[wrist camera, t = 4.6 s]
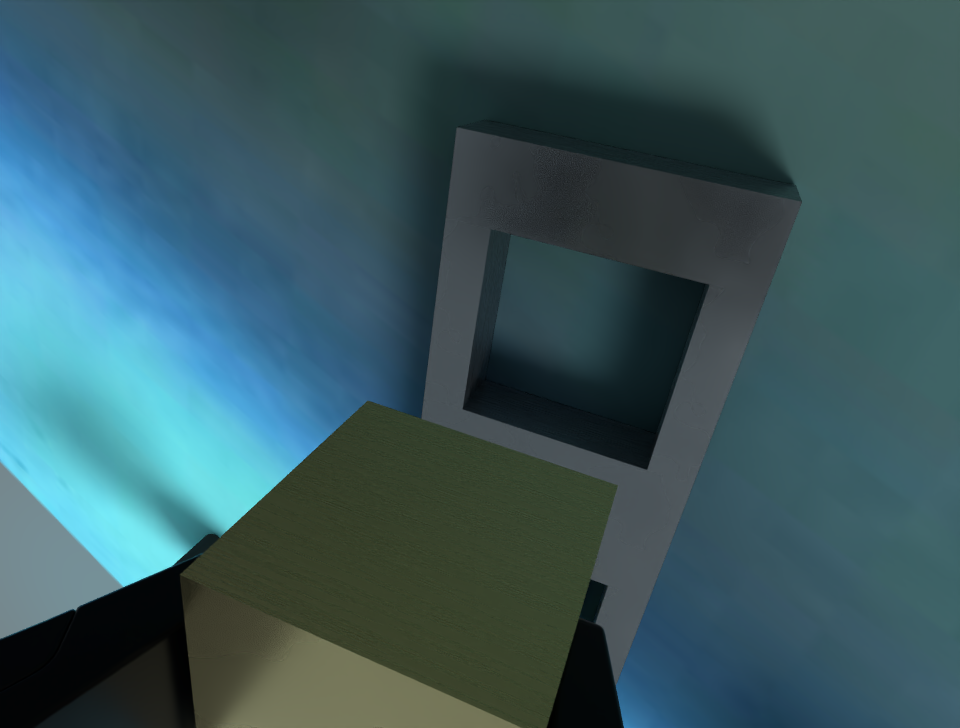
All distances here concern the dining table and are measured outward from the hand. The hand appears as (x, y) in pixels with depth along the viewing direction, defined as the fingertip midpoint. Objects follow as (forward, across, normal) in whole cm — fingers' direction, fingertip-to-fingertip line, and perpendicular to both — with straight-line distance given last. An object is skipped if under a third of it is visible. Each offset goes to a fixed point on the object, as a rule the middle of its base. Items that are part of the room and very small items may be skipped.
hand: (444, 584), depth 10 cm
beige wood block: (+1, 0, 0) cm, 1 cm away
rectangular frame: (+11, 0, +5) cm, 12 cm away
